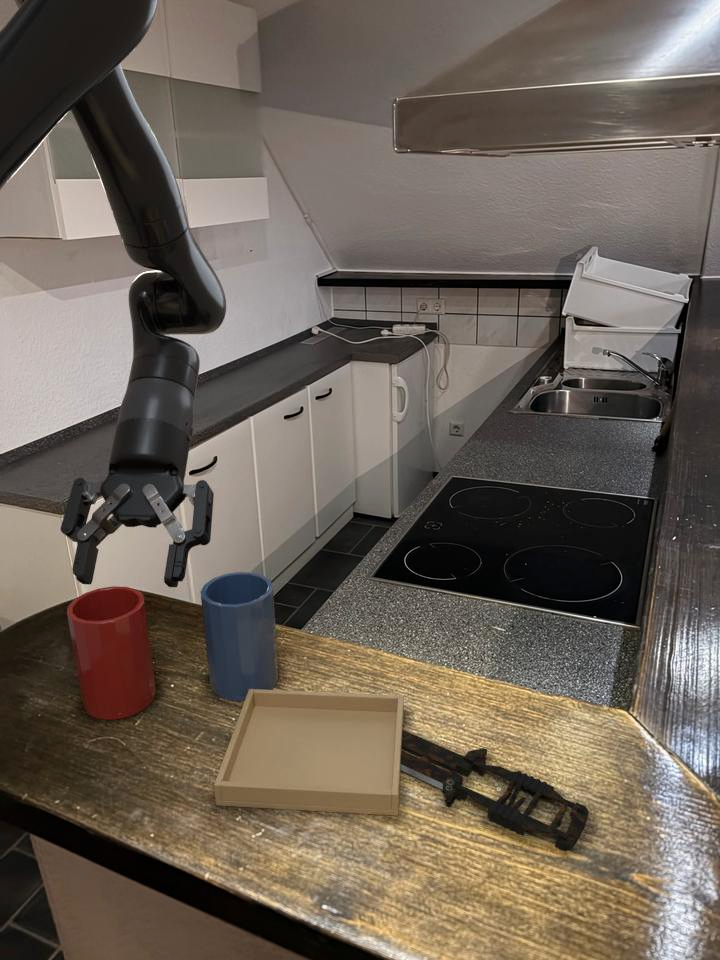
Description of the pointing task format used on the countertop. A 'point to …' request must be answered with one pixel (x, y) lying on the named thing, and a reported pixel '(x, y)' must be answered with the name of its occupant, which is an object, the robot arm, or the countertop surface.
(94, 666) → the red spoon cup
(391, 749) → the tray
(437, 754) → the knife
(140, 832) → the countertop surface
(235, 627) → the blue spoon cup
